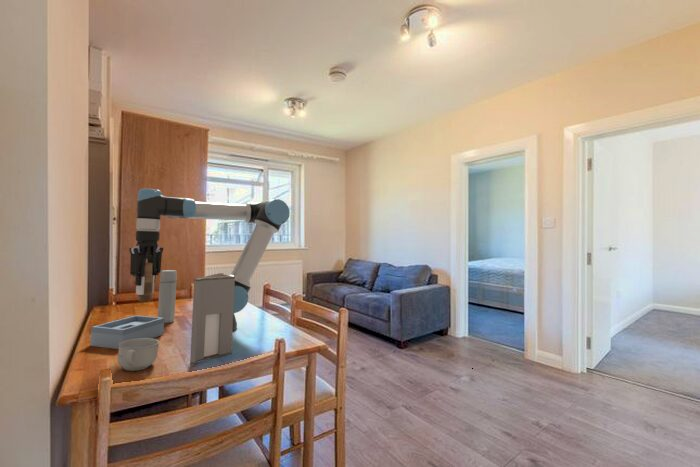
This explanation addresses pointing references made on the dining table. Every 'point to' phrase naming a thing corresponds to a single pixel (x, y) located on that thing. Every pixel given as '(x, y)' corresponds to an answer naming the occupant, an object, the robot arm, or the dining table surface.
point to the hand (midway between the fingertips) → (145, 293)
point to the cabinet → (212, 317)
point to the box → (126, 330)
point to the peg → (147, 283)
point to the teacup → (137, 353)
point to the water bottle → (167, 295)
